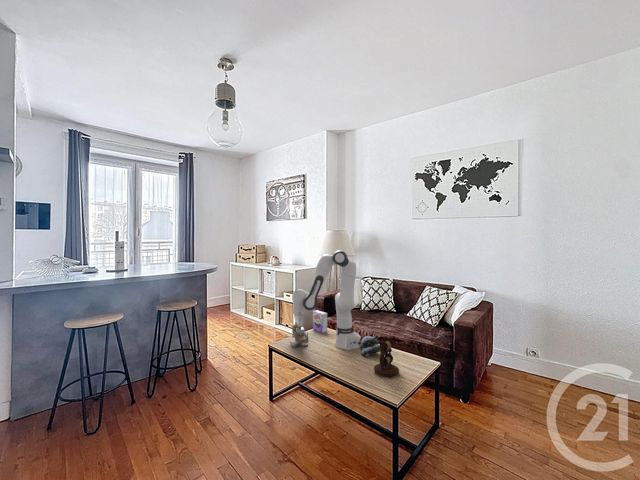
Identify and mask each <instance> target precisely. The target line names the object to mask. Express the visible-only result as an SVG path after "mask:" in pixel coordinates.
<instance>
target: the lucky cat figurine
mask: <svg viewBox="0 0 640 480" xmlns="http://www.w3.org/2000/svg"><path fill="white" fill-rule="evenodd" d="M358 345H359V347H360V348H359V349H360V352H361V356H362V357H364V358H366V357H368V356H372V355H375V354H377V353H380V350H381V348H380V345H379V342H378V338H377V336H373V335H372V334H369V335H366V336H363V337H362V336H361V339H360V341H358Z"/></svg>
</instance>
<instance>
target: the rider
mask: <svg viewBox="0 0 640 480" xmlns="http://www.w3.org/2000/svg"><path fill="white" fill-rule="evenodd" d="M304 331H305V328H304V326H303V327H299V328H296V334H297V335H304Z"/></svg>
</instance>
